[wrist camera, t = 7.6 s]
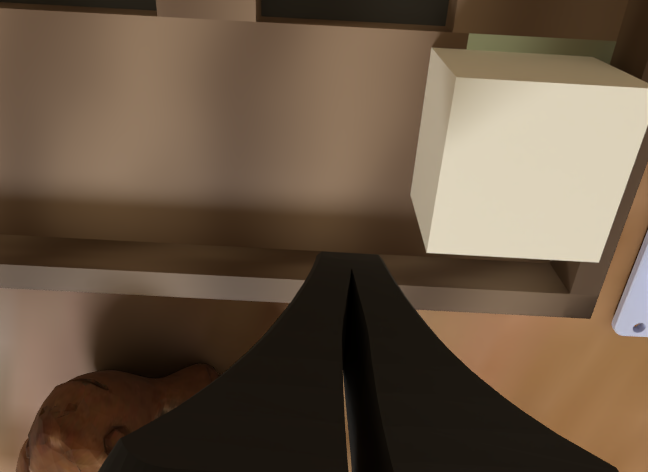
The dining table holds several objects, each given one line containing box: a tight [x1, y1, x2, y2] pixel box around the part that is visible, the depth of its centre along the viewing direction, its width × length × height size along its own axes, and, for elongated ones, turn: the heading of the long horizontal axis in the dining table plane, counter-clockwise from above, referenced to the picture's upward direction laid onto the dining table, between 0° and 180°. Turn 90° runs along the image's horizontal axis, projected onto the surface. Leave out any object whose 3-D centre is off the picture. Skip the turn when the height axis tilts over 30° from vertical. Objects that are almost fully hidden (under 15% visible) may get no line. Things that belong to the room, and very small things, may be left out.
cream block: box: [410, 47, 648, 263], centre depth 16 cm, size 5×5×4 cm
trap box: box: [0, 0, 648, 319], centre depth 17 cm, size 24×13×4 cm, turn 87°
